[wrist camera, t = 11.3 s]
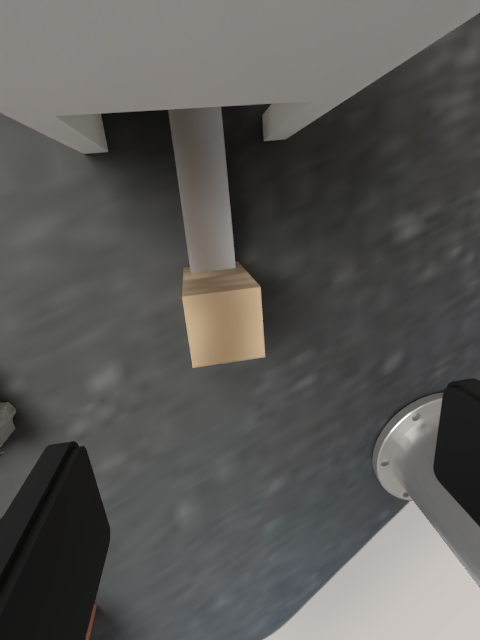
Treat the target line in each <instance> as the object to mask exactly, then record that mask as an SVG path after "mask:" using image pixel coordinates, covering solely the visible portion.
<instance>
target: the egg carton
mask: <svg viewBox="0 0 480 640" xmlns="http://www.w3.org/2000/svg"><path fill="white" fill-rule="evenodd" d="M15 413H16V409H15V408H14V407H13V406H12V405H11V404H10V403H9V402H5V403H0V447H1V446H2V445H3V443H4V442H5V441H6V440H7V439H8V437H9V436H10V435H11V433H12V432H13V431H14V430H15V426H14V424H13V416H14V414H15ZM4 452H5V451H2V452H0V456H1V455H2V454H3V453H4Z"/></svg>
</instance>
